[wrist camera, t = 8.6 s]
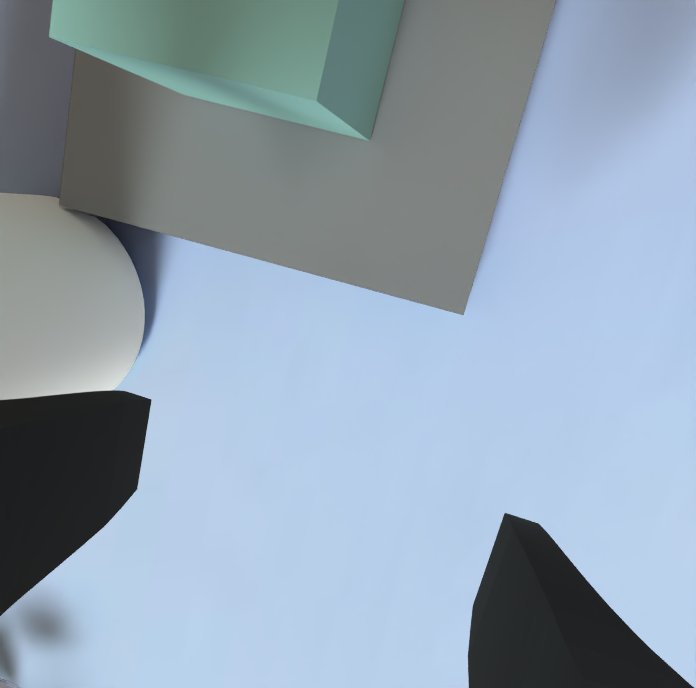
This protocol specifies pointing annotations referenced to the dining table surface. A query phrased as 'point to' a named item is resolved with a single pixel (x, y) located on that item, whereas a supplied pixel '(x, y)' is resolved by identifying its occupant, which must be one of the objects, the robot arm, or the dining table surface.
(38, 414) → the robot arm
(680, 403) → the dining table surface
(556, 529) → the dining table surface
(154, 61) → the teal block
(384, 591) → the dining table surface
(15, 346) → the beverage can
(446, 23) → the slate base
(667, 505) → the dining table surface
